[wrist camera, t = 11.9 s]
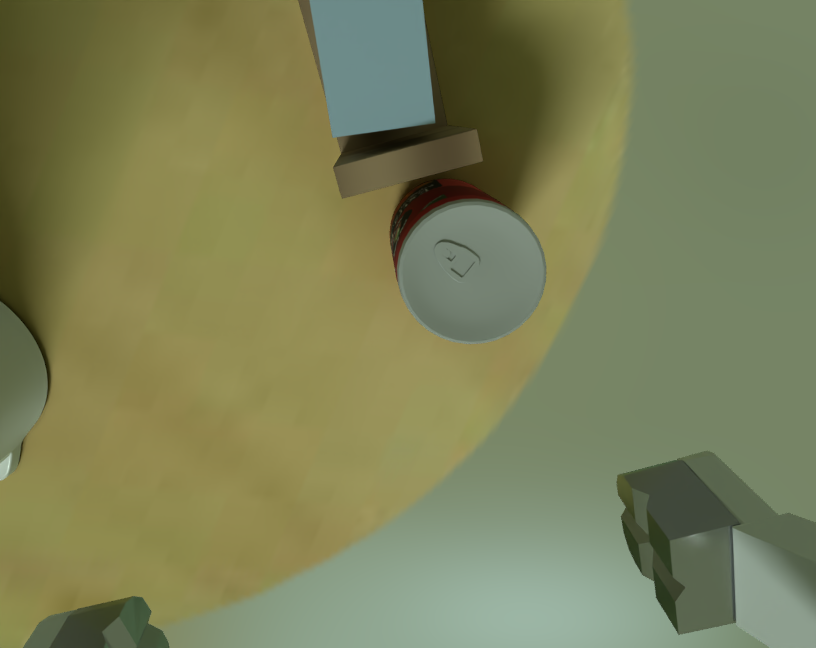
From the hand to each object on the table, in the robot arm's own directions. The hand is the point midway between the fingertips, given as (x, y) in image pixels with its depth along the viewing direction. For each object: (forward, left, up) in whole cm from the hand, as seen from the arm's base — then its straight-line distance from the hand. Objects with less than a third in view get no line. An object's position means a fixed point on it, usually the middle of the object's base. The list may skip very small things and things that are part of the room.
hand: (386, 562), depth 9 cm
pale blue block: (+3, +12, -27) cm, 30 cm away
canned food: (+5, -2, -31) cm, 32 cm away
